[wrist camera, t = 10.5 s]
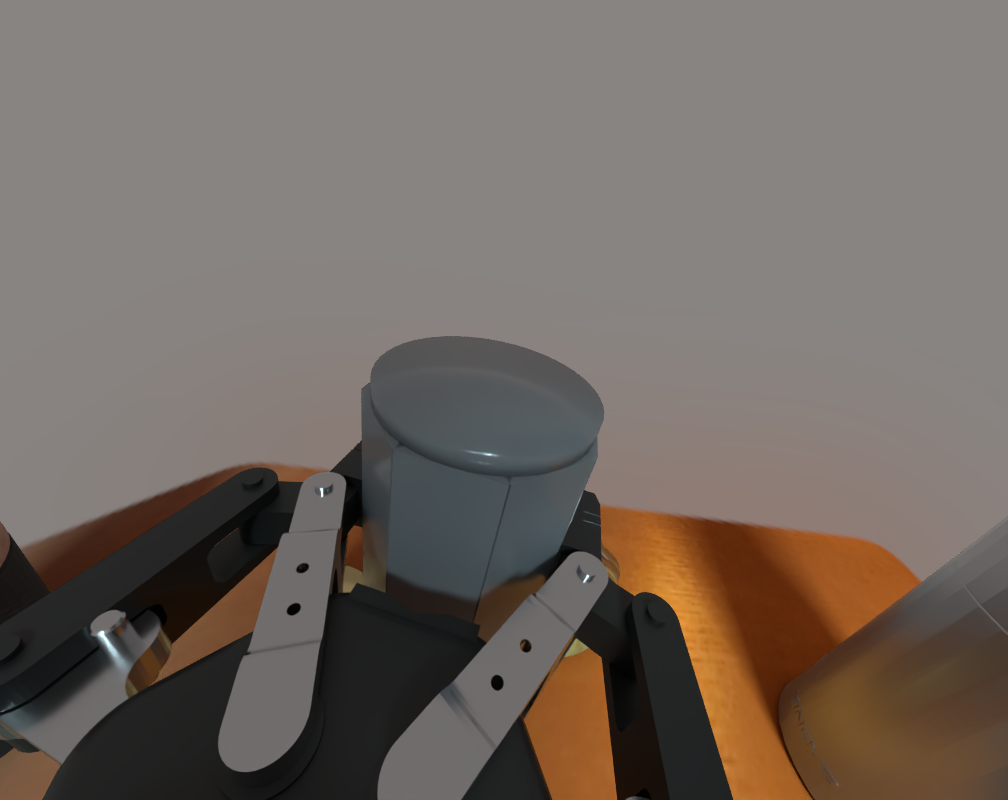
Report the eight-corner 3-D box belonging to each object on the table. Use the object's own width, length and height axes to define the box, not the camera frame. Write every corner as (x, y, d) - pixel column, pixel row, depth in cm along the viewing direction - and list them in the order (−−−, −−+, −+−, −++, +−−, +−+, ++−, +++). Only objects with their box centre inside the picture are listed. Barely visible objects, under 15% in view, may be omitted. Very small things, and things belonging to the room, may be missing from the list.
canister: (525, 575, 18) (601, 368, 12) (497, 731, 13) (608, 491, 7) (410, 537, 19) (430, 322, 13) (335, 670, 13) (311, 402, 8)
